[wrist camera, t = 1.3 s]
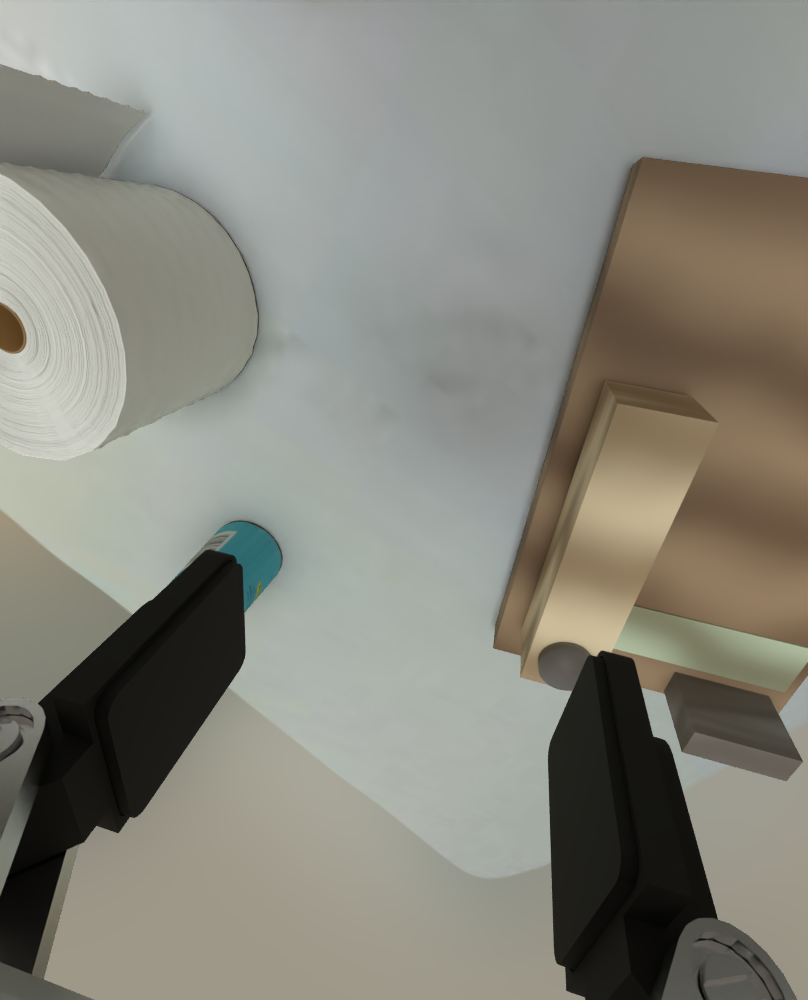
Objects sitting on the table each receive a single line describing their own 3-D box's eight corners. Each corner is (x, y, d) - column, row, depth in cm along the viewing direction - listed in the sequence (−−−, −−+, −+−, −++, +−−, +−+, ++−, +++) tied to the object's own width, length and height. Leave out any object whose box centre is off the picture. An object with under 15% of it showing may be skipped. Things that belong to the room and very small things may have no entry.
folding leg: (584, 646, 28) (592, 705, 25) (521, 630, 29) (520, 686, 25) (691, 396, 21) (724, 428, 17) (605, 380, 22) (620, 408, 18)
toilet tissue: (160, 422, 31) (14, 493, 22) (28, 225, 27) (-212, 217, 18) (295, 351, 27) (181, 403, 18) (163, 105, 23) (-64, 22, 14)
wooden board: (633, 164, 20) (668, 137, 15) (1092, 223, 18) (1325, 215, 13) (495, 626, 32) (488, 700, 27) (758, 694, 30) (805, 789, 25)
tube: (259, 601, 36) (24, 912, 19) (202, 564, 35) (-89, 849, 19) (303, 534, 32) (57, 847, 16) (239, 492, 32) (-82, 766, 15)
